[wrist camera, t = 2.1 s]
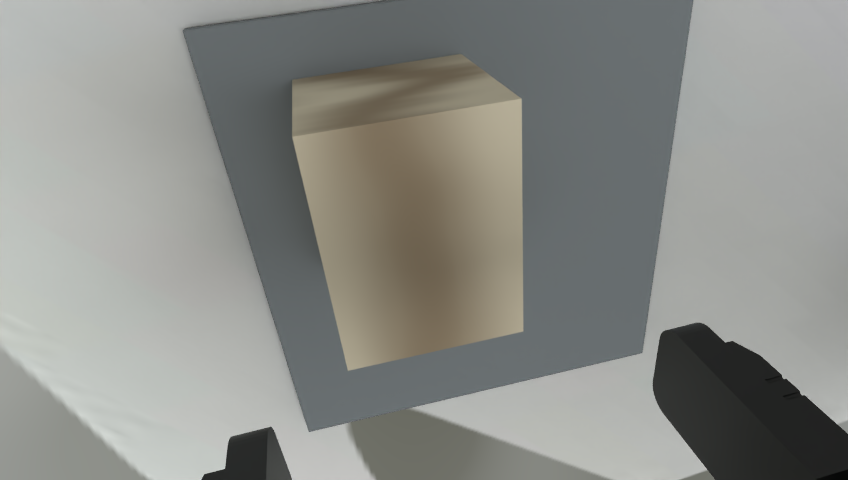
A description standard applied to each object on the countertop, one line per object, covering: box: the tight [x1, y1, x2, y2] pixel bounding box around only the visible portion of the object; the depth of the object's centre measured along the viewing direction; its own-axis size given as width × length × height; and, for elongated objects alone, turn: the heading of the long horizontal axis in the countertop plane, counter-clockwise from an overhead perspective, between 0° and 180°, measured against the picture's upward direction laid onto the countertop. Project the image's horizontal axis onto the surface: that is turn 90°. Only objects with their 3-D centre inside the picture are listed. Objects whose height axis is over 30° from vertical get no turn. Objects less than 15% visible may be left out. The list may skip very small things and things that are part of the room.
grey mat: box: [183, 0, 693, 432], centre depth 23 cm, size 18×19×1 cm
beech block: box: [292, 54, 523, 371], centre depth 18 cm, size 6×8×6 cm
